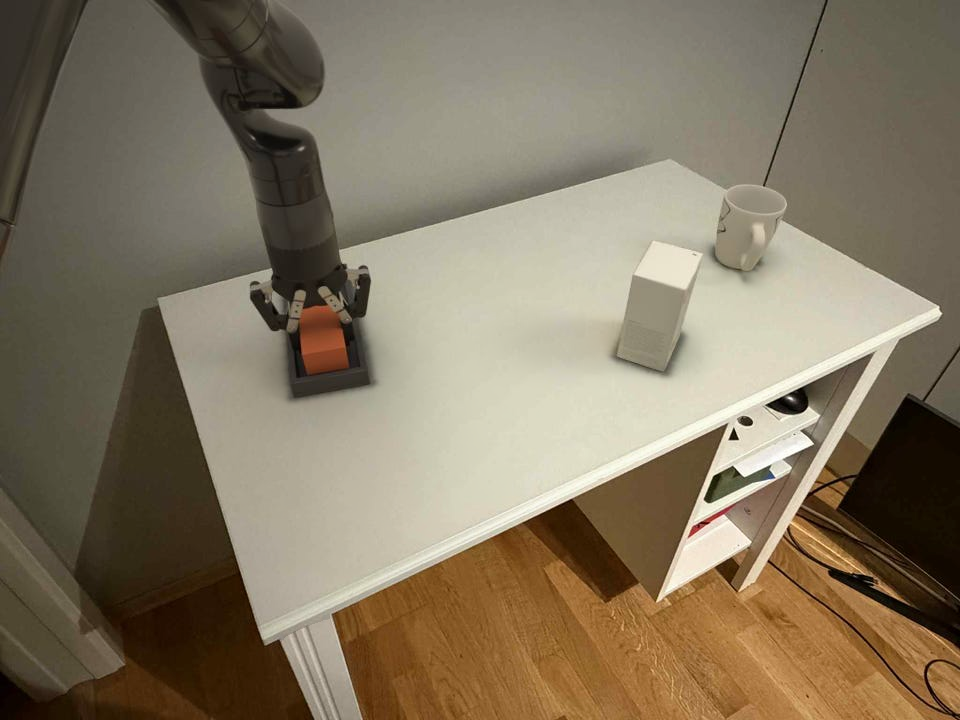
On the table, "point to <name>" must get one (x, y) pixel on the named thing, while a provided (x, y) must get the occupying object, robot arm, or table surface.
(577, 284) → the table surface
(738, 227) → the mug
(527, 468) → the table surface
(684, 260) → the small box
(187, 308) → the table surface
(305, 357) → the orange block
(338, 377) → the frame
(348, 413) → the table surface
